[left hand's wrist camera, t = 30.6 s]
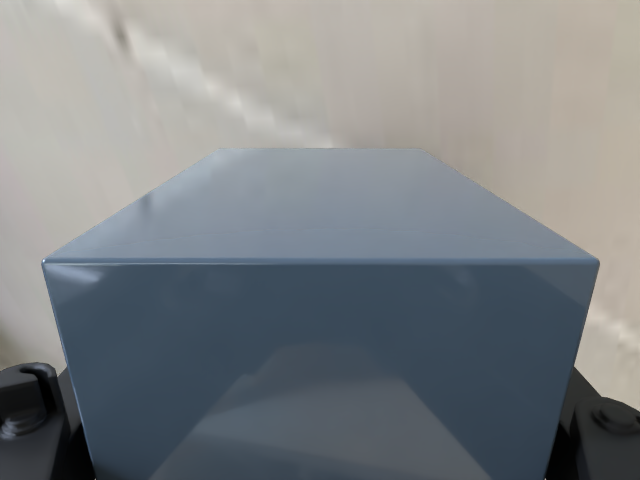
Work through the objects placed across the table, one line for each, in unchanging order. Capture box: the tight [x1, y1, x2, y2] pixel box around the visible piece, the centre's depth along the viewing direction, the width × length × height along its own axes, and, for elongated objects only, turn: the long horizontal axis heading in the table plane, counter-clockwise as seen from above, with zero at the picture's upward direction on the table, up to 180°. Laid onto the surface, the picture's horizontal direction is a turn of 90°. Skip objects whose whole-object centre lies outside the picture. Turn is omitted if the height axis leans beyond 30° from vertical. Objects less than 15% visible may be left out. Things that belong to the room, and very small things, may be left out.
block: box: [41, 148, 600, 480], centre depth 12 cm, size 9×8×10 cm
